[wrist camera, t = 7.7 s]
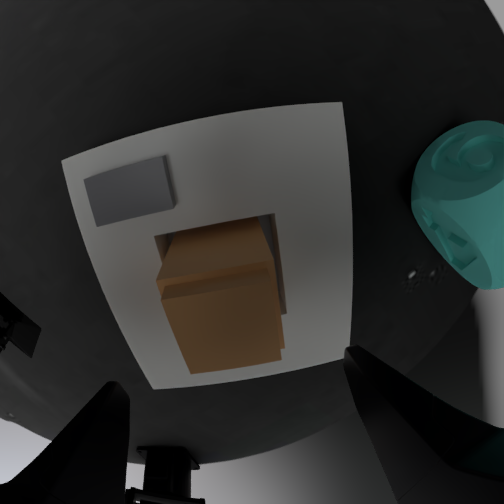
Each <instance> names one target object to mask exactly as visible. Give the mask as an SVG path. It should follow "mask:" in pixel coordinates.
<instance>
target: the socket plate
mask: <svg viewBox="0 0 504 504" xmlns="http://www.w3.org/2000/svg"><path fill="white" fill-rule="evenodd" d="M62 166H63V170H64V174H65V179H66V183H67V186H68V190H69V194H70V198H71V201H72V205H73V208H74V212H75V215H76V218H77V222H78V225H79V228H80V231H81V234H82V237H83V240H84V243H85V246H86V249H87V251H88V254H89V257H90V260H91V262H92V265H93V267H94V270H95V273H96V275H97V278H98V280H99V282H100V285H101V287H102V290H103V292H104V294H105V297H106V299H107V301H108V304H109V306H110V308H111V310H112V312H113V315H114V317H115V319H116V321H117V323H118V325H119V327H120V329H121V331H122V333H123V335H124V337H125V339H126V341H127V343H128V345H129V347H130V349H131V351H132V353H133V354H134V356H135V358H136V360H137V362H138V364H139V365H140V367H141V369H142V371H143V373H144V374H145V376H146V378H147V379H148V381H149V383H150V384H151V386H152V388H153V389H167V388H180V387H191V386H200V385H209V384H217V383H225V382H232V381H238V380H245V379H251V378H257V377H262V376H268V375H273V374H278V373H283V372H288V371H293V370H298V369H302V368H306V367H311V366H315V365H319V364H323V363H327V362H331V361H335V360H339V359H342V358H344V351H345V348H346V347H348V346H349V344H350V330H351V312H352V285H353V229H352V202H351V185H350V171H349V159H348V148H347V138H346V130H345V121H344V114H343V106H342V102H332V103H313V104H299V105H288V106H278V107H269V108H261V109H254V110H247V111H240V112H234V113H228V114H222V115H216V116H211V117H206V118H201V119H196V120H192V121H187V122H183V123H178V124H174V125H170V126H166V127H162V128H158V129H154V130H151V131H147V132H143V133H140V134H136V135H133V136H130V137H126V138H123V139H120V140H117V141H114V142H111V143H108V144H105V145H102V146H99V147H96V148H93V149H90V150H88V151H85V152H82V153H80V154H77V155H74V156H72V157H69V158H67V159H64V160H62ZM254 216H257V218H258V220H259V223H260V225H261V228H262V231H263V233H264V236H265V238H266V241H267V243H268V246H269V249H270V251H271V254H272V256H273V259H274V265H275V273H276V280H277V288H278V295H279V303H280V311H281V319H282V327H283V335H284V343H285V348H284V349H280V350H281V357H282V360H280V361H275V362H270V363H264V364H259V365H253V366H247V367H241V368H235V369H228V370H221V371H214V372H206V373H198V374H190V371H189V369H188V367H187V365H186V362H185V360H184V358H183V356H182V353H181V351H180V348H179V346H178V344H177V341H176V339H175V336H174V334H173V331H172V329H171V326H170V324H169V321H168V319H167V316H166V313H165V311H164V308H163V306H162V303H161V295H160V292H159V289H158V286H157V283H156V278H157V276H158V273H159V271H160V268H161V266H162V264H163V261H164V259H165V256H166V254H167V252H168V249H169V247H170V245H171V242H172V240H173V238H174V235H175V233H176V231H180V230H185V229H190V228H195V227H201V226H206V225H211V224H216V223H221V222H227V221H232V220H238V219H243V218H249V217H254Z"/></svg>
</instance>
